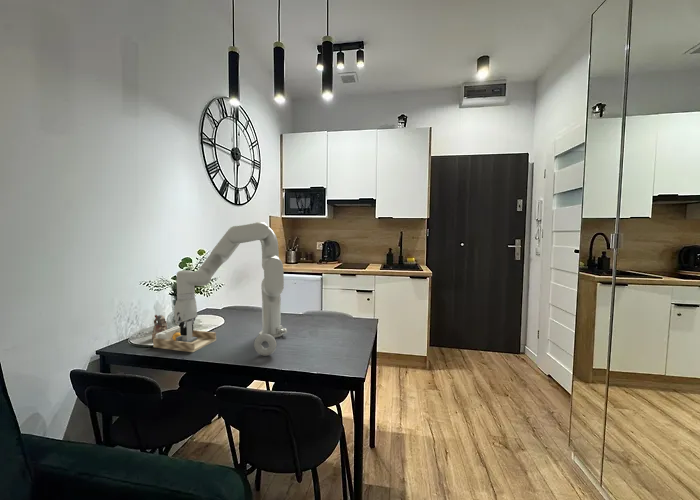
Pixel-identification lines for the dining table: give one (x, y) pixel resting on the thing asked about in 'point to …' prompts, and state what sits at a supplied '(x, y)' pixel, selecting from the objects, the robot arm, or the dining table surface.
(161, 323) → the figurine
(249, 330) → the dining table surface
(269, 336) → the donut
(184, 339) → the striker
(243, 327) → the dining table surface
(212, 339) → the wooden tray
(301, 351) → the dining table surface
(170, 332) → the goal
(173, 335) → the ball
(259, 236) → the robot arm
